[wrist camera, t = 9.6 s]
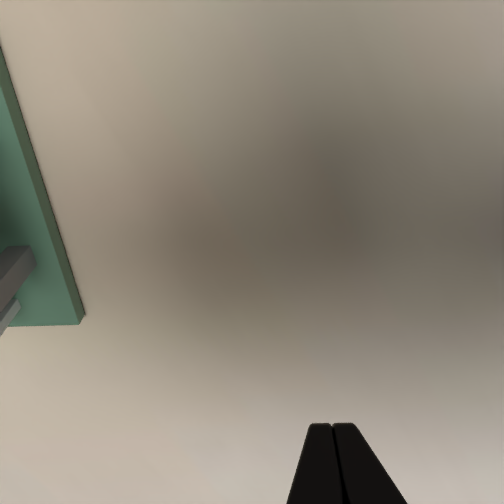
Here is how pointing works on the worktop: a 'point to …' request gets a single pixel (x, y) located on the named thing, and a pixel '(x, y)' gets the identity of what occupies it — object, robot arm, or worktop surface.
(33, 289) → the circuit board module
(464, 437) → the worktop surface
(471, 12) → the worktop surface
